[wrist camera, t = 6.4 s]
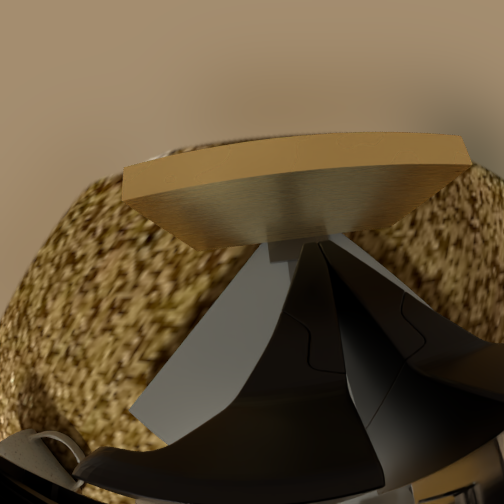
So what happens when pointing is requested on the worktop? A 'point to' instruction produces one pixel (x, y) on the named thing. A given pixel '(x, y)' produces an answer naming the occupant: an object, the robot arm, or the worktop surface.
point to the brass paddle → (292, 187)
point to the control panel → (235, 354)
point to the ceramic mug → (41, 456)
